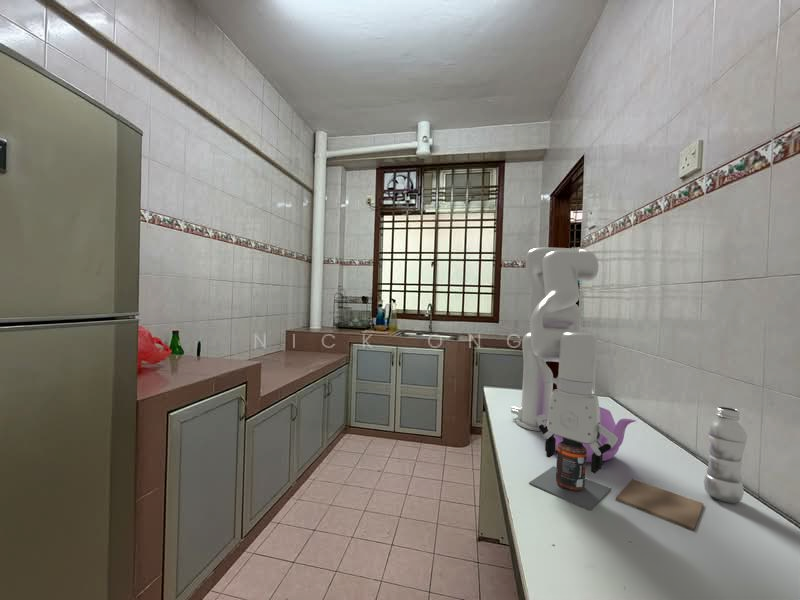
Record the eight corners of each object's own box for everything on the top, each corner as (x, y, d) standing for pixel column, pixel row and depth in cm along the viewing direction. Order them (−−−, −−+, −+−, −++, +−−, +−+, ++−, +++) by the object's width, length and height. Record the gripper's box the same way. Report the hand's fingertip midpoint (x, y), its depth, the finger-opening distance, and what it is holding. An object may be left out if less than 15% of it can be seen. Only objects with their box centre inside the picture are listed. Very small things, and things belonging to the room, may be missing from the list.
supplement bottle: (588, 494, 77) (591, 442, 77) (559, 489, 78) (562, 438, 78) (580, 480, 83) (583, 432, 83) (552, 476, 84) (555, 429, 84)
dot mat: (528, 483, 81) (529, 482, 81) (553, 467, 90) (553, 466, 90) (590, 510, 71) (590, 509, 71) (611, 489, 80) (611, 488, 80)
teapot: (524, 446, 102) (527, 394, 102) (575, 438, 111) (578, 389, 111) (598, 486, 81) (602, 420, 81) (653, 472, 90) (657, 413, 90)
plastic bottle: (695, 490, 82) (700, 404, 82) (722, 491, 82) (727, 405, 82) (723, 507, 75) (728, 413, 75) (752, 507, 76) (757, 414, 76)
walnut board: (615, 499, 76) (615, 497, 76) (632, 480, 85) (632, 478, 85) (693, 530, 66) (693, 528, 66) (703, 505, 75) (703, 503, 75)
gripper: (531, 381, 84) (527, 454, 84) (613, 398, 71) (609, 484, 71) (545, 378, 89) (541, 446, 89) (624, 393, 76) (620, 473, 76)
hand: (571, 463), depth 80 cm, fingers open, 9 cm apart
